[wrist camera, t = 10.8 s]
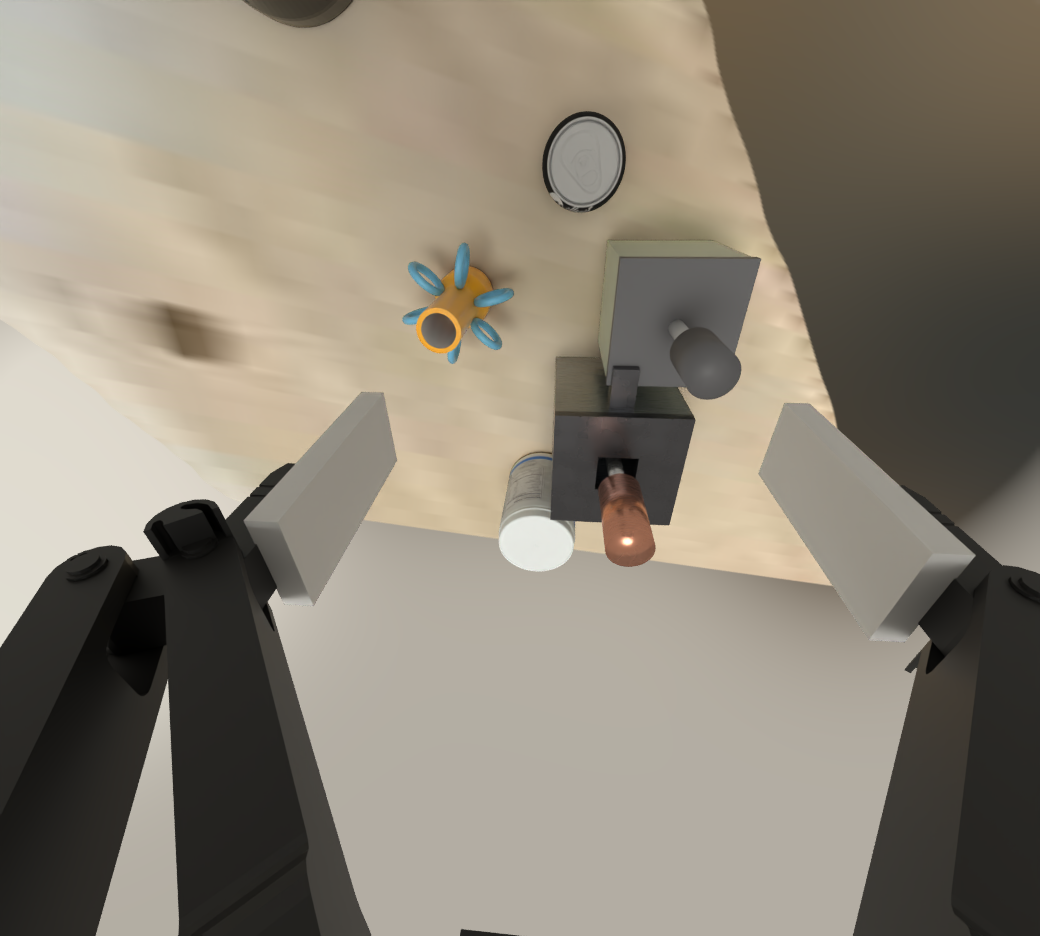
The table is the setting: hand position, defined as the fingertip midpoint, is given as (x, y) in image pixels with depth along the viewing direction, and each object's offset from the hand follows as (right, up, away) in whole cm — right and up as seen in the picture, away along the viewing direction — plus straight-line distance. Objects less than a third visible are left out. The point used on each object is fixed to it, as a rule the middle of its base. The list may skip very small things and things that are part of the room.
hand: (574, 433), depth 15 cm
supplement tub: (+1, -2, +50) cm, 50 cm away
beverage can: (+4, +29, +28) cm, 41 cm away
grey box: (+9, +9, +41) cm, 43 cm away
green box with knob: (+13, +19, +34) cm, 41 cm away
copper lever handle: (+9, +3, +36) cm, 37 cm away
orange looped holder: (-8, +19, +36) cm, 42 cm away
